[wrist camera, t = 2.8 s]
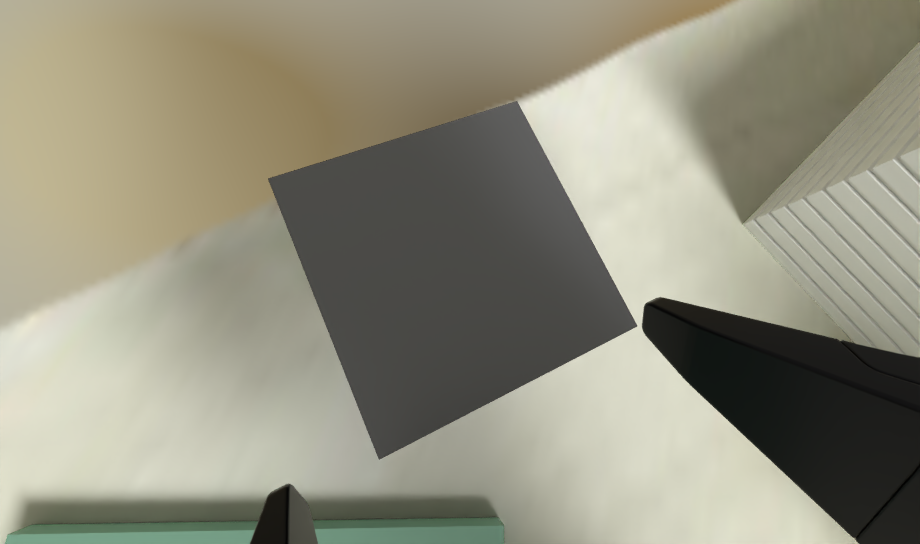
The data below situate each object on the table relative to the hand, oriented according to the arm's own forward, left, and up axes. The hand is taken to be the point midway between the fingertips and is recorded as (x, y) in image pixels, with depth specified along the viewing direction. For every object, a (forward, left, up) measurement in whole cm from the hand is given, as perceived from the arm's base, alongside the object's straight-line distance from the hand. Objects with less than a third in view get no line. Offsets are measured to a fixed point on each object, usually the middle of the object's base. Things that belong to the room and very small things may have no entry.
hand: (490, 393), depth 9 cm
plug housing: (+1, -2, -10) cm, 10 cm away
